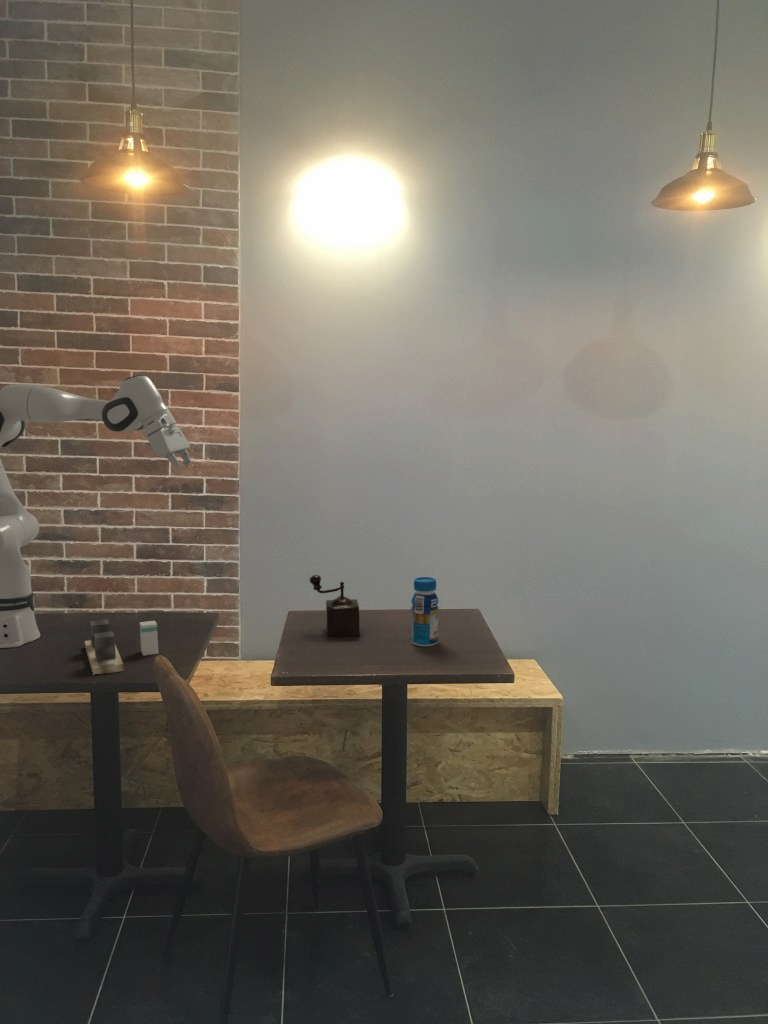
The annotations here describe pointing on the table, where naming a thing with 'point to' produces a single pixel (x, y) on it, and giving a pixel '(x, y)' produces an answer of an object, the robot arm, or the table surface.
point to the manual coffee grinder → (339, 612)
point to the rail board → (96, 663)
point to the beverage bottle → (424, 612)
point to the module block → (149, 638)
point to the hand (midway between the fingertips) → (184, 466)
